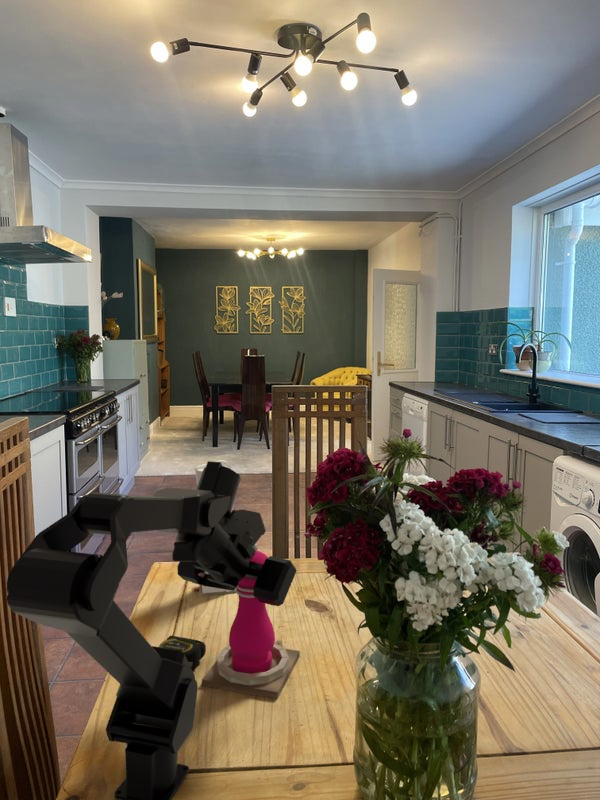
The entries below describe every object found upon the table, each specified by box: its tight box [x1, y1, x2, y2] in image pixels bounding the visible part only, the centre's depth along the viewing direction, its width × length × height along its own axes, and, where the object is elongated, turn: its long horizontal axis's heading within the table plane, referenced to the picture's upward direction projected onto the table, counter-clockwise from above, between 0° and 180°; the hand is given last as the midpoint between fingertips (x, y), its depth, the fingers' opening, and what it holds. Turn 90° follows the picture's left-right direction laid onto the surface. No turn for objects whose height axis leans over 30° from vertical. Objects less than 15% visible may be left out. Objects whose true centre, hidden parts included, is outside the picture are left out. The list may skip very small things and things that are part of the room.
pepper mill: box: [228, 542, 276, 674], centre depth 92 cm, size 7×7×20 cm
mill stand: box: [201, 642, 301, 700], centre depth 94 cm, size 12×12×2 cm
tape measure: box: [158, 635, 207, 670], centre depth 95 cm, size 7×7×4 cm
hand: (257, 594), depth 94 cm, fingers open, 9 cm apart
